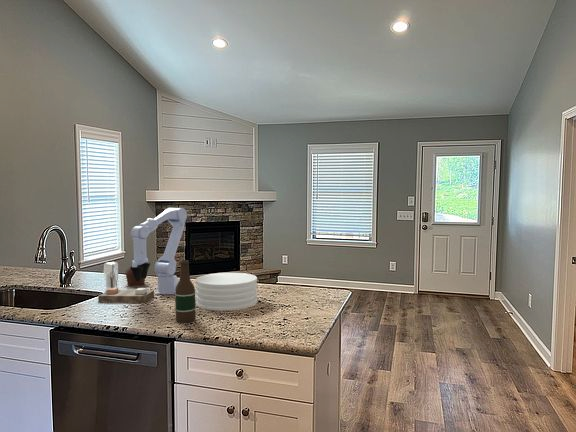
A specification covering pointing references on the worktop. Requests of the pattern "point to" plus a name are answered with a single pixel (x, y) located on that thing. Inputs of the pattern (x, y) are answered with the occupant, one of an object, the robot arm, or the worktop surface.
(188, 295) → the beer bottle
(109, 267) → the beer glass
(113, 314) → the worktop surface
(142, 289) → the cream key
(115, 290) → the terracotta key
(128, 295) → the wooden board
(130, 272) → the muffin
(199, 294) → the plate stack
